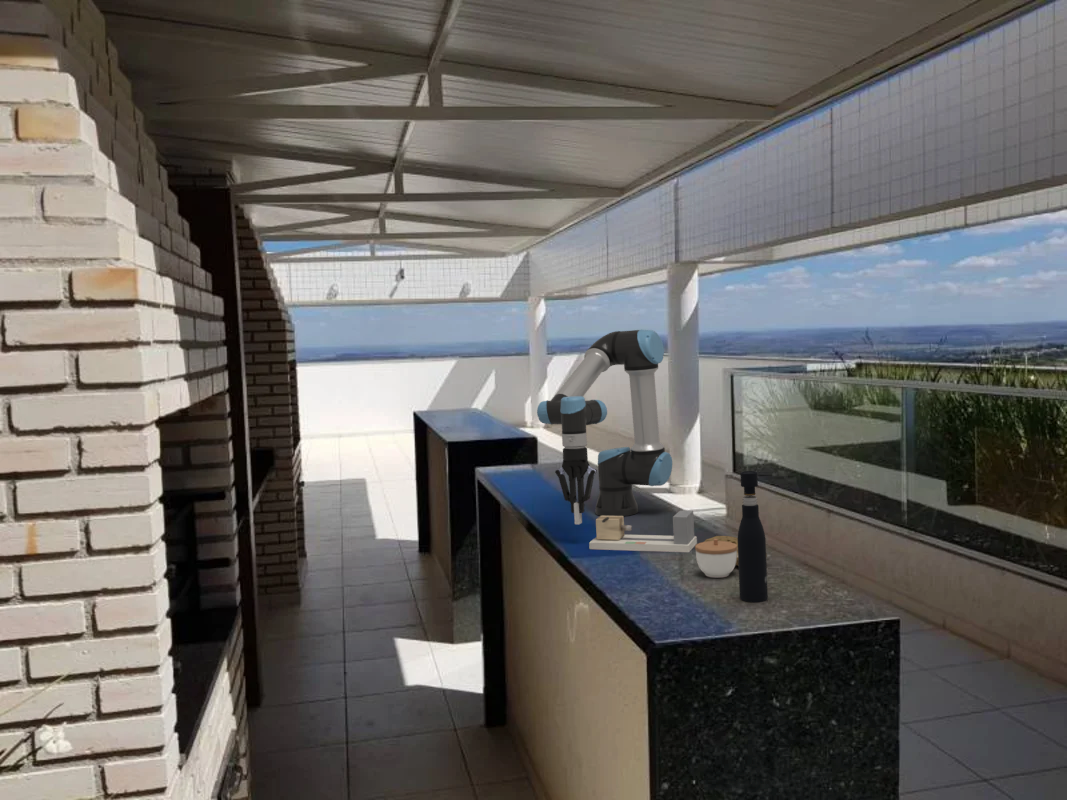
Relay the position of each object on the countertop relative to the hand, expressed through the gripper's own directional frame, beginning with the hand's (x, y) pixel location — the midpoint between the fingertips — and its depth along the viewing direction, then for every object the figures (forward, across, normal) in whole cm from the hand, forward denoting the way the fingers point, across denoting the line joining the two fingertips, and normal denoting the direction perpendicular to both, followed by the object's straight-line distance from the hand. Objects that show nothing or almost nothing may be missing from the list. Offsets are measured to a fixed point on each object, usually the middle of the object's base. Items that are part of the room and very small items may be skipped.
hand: (578, 523), depth 285 cm
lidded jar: (+7, +47, -29) cm, 56 cm away
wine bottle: (+7, +59, -49) cm, 77 cm away
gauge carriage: (+4, +11, -2) cm, 12 cm away
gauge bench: (+6, +20, 0) cm, 21 cm away
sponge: (+7, +49, -14) cm, 51 cm away
